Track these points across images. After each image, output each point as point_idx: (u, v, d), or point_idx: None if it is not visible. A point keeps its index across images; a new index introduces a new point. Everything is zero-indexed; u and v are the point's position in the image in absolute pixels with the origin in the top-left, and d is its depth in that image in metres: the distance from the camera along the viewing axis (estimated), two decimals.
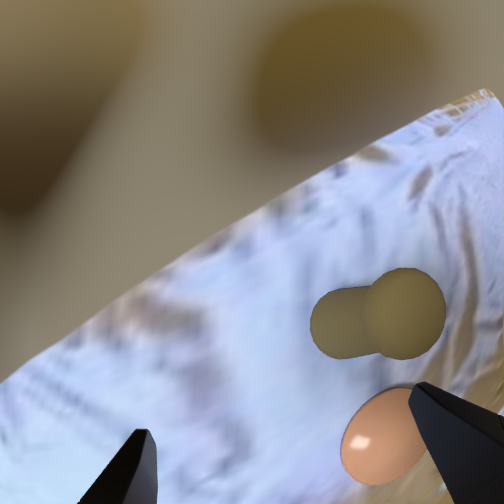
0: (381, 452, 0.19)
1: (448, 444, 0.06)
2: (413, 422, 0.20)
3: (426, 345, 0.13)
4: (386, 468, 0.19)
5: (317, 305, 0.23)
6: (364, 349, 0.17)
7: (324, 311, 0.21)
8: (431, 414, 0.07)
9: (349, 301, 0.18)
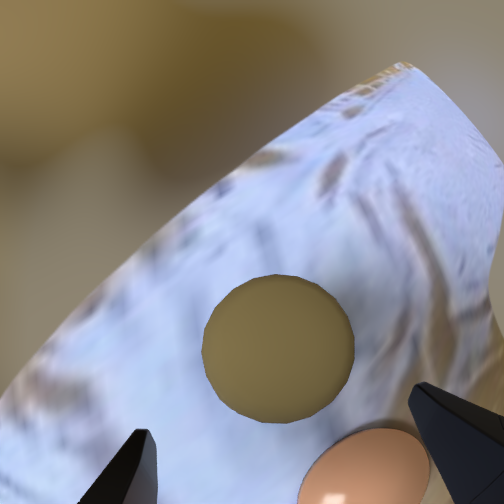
0: None
1: (448, 444, 0.06)
2: (395, 466, 0.14)
3: (316, 396, 0.08)
4: None
5: None
6: None
7: None
8: (431, 414, 0.07)
9: None
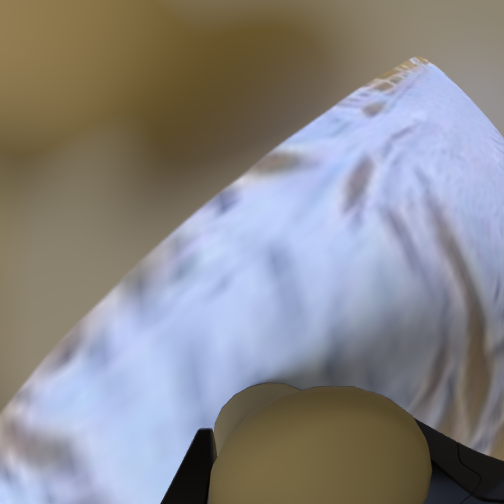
0: None
1: None
2: None
3: None
4: None
5: (217, 420, 0.13)
6: None
7: (217, 437, 0.11)
8: None
9: None
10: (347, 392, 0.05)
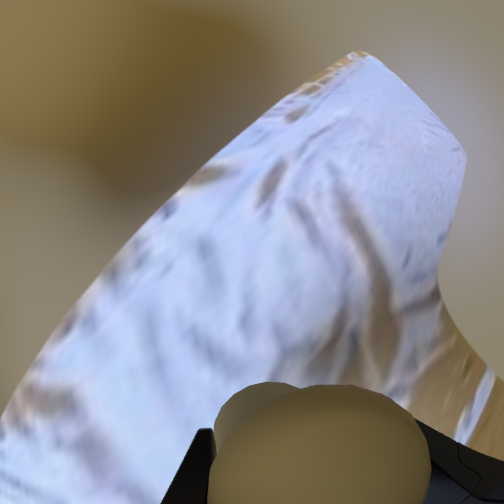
0: None
1: None
2: None
3: None
4: None
5: (216, 419, 0.13)
6: None
7: (217, 436, 0.11)
8: None
9: None
10: (346, 390, 0.05)
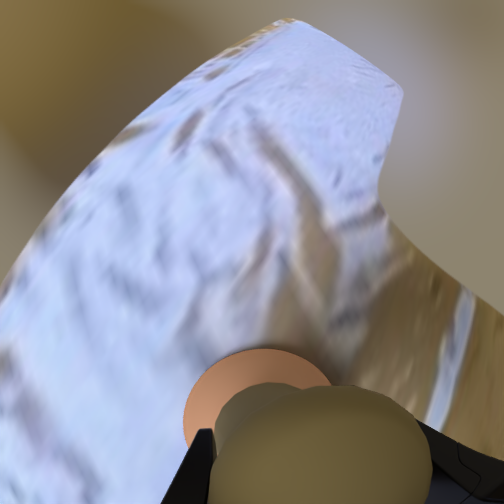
0: None
1: None
2: None
3: None
4: None
5: (217, 420, 0.13)
6: None
7: (218, 436, 0.11)
8: None
9: None
10: (347, 391, 0.05)
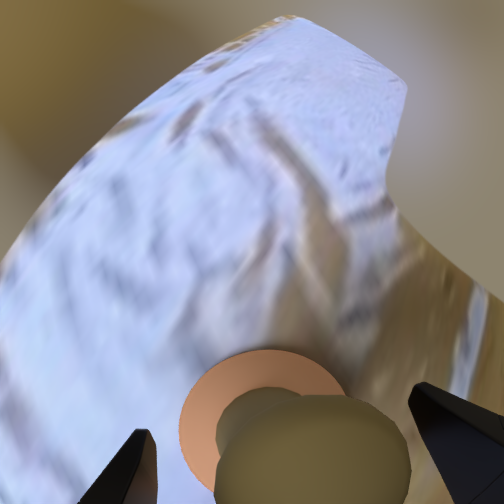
0: None
1: (448, 444, 0.06)
2: None
3: None
4: None
5: (219, 422, 0.14)
6: None
7: (220, 437, 0.12)
8: (431, 414, 0.07)
9: None
10: (335, 400, 0.06)
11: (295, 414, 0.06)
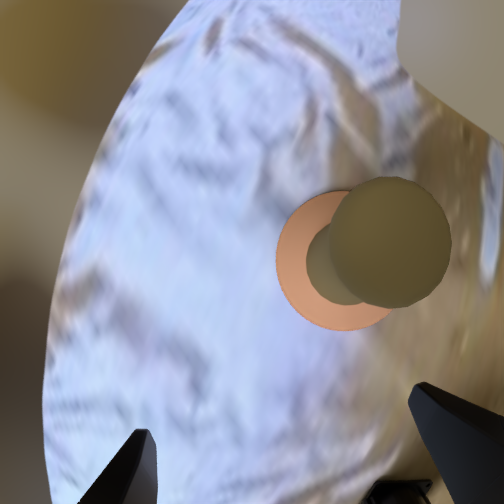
0: None
1: (448, 444, 0.06)
2: None
3: (432, 280, 0.09)
4: None
5: (307, 255, 0.20)
6: None
7: (312, 261, 0.18)
8: (431, 414, 0.07)
9: (326, 245, 0.15)
10: None
11: (368, 183, 0.10)
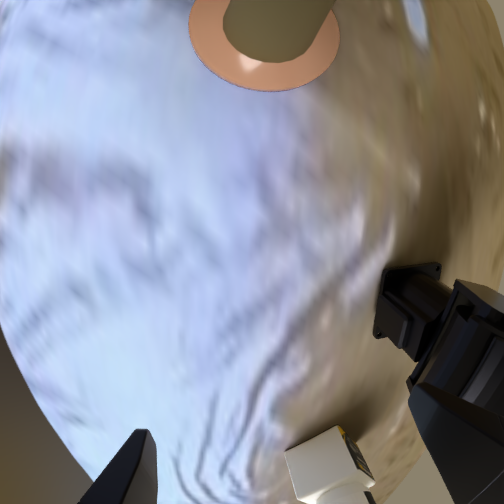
0: None
1: (448, 444, 0.06)
2: None
3: None
4: None
5: (224, 23, 0.14)
6: (304, 12, 0.09)
7: (232, 17, 0.12)
8: (431, 414, 0.07)
9: None
10: None
11: None
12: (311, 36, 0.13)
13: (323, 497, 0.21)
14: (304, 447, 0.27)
